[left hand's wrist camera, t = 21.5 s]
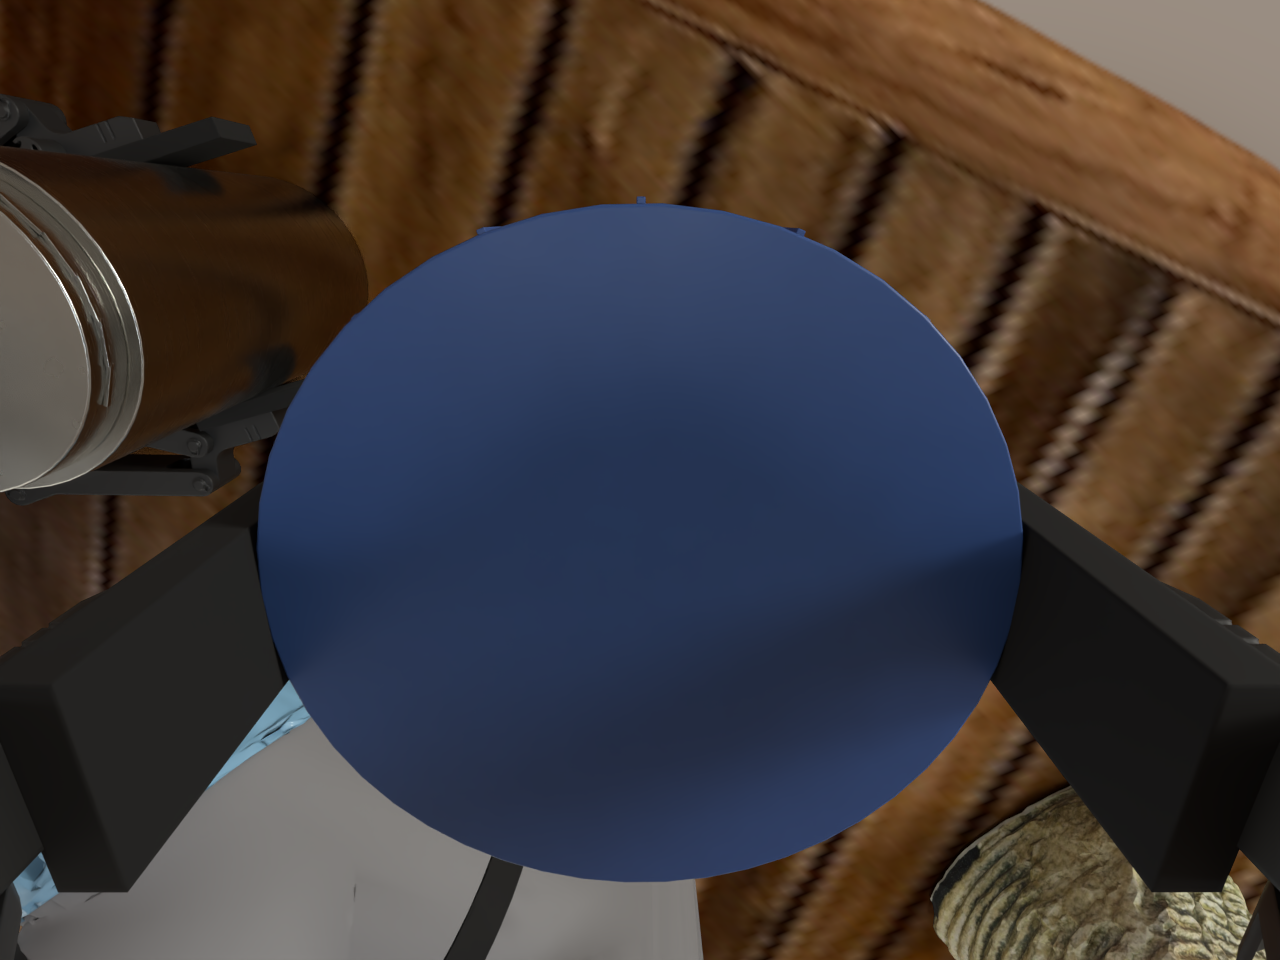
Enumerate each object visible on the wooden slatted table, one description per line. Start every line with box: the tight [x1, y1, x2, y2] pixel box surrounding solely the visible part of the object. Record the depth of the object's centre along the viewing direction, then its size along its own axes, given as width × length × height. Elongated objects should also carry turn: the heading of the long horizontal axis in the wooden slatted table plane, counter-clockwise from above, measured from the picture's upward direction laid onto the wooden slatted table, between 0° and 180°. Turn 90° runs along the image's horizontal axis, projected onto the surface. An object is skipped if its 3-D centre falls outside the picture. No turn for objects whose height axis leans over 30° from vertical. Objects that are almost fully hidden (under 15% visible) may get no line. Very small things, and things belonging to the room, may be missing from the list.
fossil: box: [930, 785, 1267, 960], centre depth 43 cm, size 9×18×15 cm, turn 153°
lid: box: [257, 197, 1023, 882], centre depth 11 cm, size 11×11×2 cm
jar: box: [0, 146, 368, 492], centre depth 27 cm, size 10×10×19 cm
